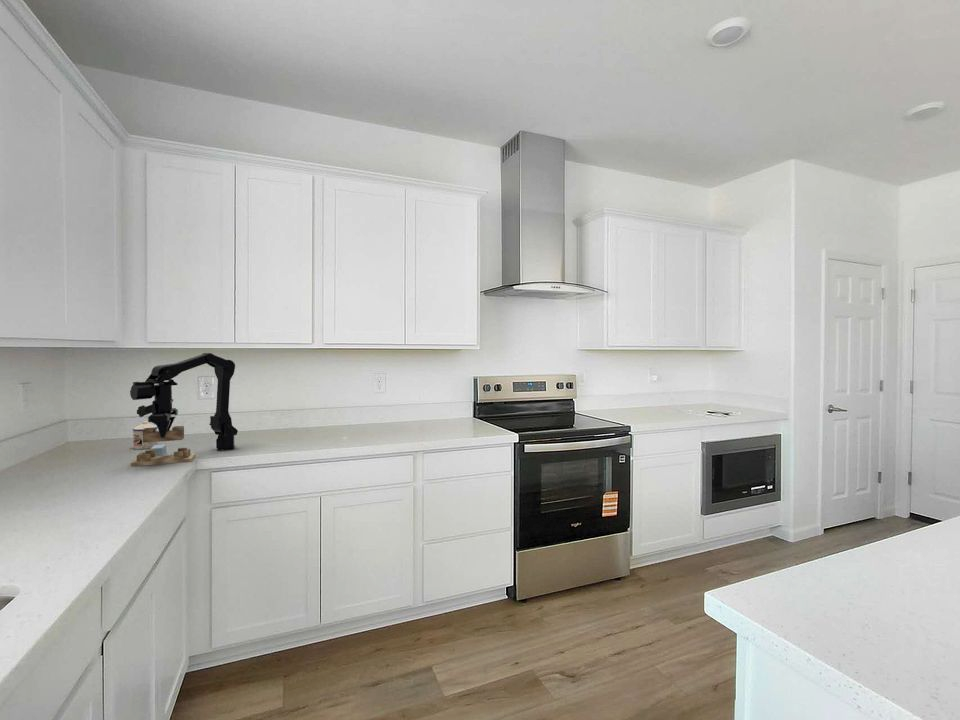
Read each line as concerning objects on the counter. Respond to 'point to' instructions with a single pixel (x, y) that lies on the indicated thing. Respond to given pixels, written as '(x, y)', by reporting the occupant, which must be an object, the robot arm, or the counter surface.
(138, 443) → the teacup with lid
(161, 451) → the light blue block
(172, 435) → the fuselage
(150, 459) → the jig
